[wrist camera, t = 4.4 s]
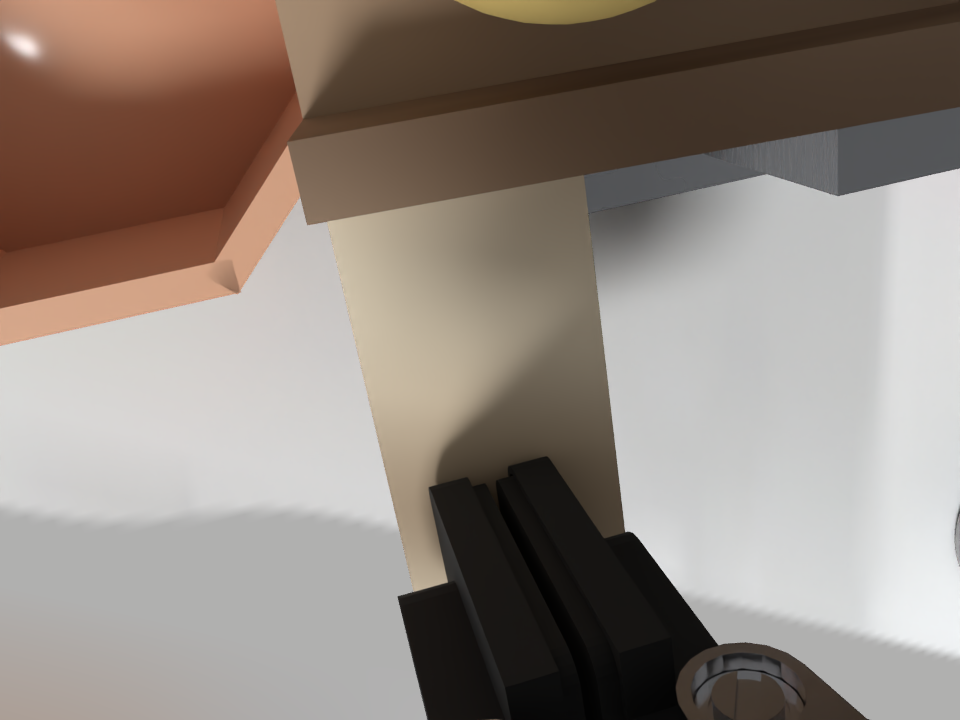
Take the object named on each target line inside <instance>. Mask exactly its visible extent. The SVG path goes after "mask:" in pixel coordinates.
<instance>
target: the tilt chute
mask: <svg viewBox="0 0 960 720" xmlns="http://www.w3.org/2000/svg"><path fill="white" fill-rule="evenodd" d="M275 2H276V6H277V10H278V15H279V19H280V23H281V28H282V32H283V36H284V40H285V45H286V49H287V53H288V57H289V62H290V66H291V70H292V74H293V79H294V83H295V87H296V92H297V96H298V100H299V104H300V109H301V113H302V117H303V120H302V121H301V123H300V124H299V126H298V127H297V129H296V130H295V131H294V133H293V134H292V136H291V137H290V138H289V140H288V141H287V144H288V148H289V152H290V156H291V161H292V165H293V169H294V173H295V177H296V181H297V185H298V189H299V193H300V198H301V202H302V206H303V210H304V214H305V218H306V222H307V225H311V224H317V223H322V222H327V224H328V228H329V232H330V237H331V241H332V245H333V249H334V254H335V258H336V262H337V266H338V271H339V275H340V279H341V284H342V288H343V292H344V296H345V301H346V305H347V309H348V313H349V318H350V322H351V326H352V330H353V335H354V339H355V343H356V348H357V352H358V356H359V360H360V365H361V369H362V373H363V377H364V382H365V386H366V390H367V394H368V399H369V403H370V407H371V412H372V416H373V420H374V424H375V429H376V433H377V437H378V441H379V446H380V450H381V454H382V458H383V463H384V467H385V471H386V476H387V480H388V484H389V488H390V493H391V497H392V501H393V505H394V510H395V514H396V518H397V523H398V527H399V531H400V535H401V540H402V544H403V548H404V552H405V557H406V561H407V565H408V569H409V573H410V578H411V582H412V587H413V590H414V592H415V591H419V590H422V589H426V588H430V587H433V586H437V585H440V584H444V583H447V582H448V581H447V576H446V572H445V567H444V562H443V558H442V553H441V548H440V543H439V539H438V534H437V529H436V525H435V520H434V515H433V511H432V506H431V501H430V496H429V490H428V487H430V486H434V485H438V484H442V483H446V482H449V481H453V480H457V479H461V478H465V477H468V479H469V480H470V482H471V485H472V486H476V485H480V484H483V483H485V484H486V485H487V487H488V489H489V491H490V493H491V495H492V497H493V499H494V501H495V503H496V505H497V507H498V509H499V511H500V507H499V501H498V496H497V489H496V480H499V479H502V478H506V477H508V466H510V465H514V464H518V463H522V462H526V461H529V460H533V459H537V458H541V457H545V456H548V458H549V459H550V460H551V461H552V463H553V464H554V466H555V467H556V469H557V470H558V472H559V473H560V475H561V476H562V478H563V479H564V480H565V482H566V483H567V485H568V486H569V488H570V489H571V491H572V492H573V494H574V495H575V497H576V498H577V500H578V501H579V502H580V504H581V505H582V507H583V508H584V510H585V511H586V513H587V514H588V516H589V517H590V519H591V520H592V522H593V523H594V524H595V526H596V527H597V529H598V530H599V532H600V533H601V535H602V536H603V538H607V537H611V536H614V535H618V534H622V533H625V528H624V519H623V510H622V502H621V493H620V484H619V476H618V467H617V458H616V450H615V441H614V432H613V424H612V415H611V406H610V398H609V389H608V380H607V371H606V363H605V354H604V345H603V337H602V328H601V319H600V311H599V302H598V293H597V285H596V276H595V267H594V259H593V250H592V241H591V233H590V224H589V215H588V207H587V198H586V189H585V180H584V175H587V174H593V173H598V172H604V171H609V170H615V169H620V168H626V167H631V166H637V165H642V164H648V163H654V162H659V161H665V160H670V159H676V158H681V157H687V156H692V155H698V154H703V153H709V152H714V151H720V150H725V149H731V148H736V147H742V146H747V145H753V144H758V143H764V142H769V141H775V140H781V139H786V138H792V137H797V136H803V135H808V134H814V133H819V132H825V131H830V130H836V129H841V128H847V127H852V126H858V125H863V124H869V123H874V122H880V121H885V120H891V119H896V118H902V117H908V116H913V115H919V114H924V113H930V112H935V111H941V110H946V109H952V108H957V107H960V0H656V1H655V2H652V3H650V4H647V5H645V6H642V7H640V8H637V9H635V10H632V11H629V12H626V13H623V14H620V15H617V16H614V17H611V18H606V19H601V20H596V21H590V22H583V23H575V24H534V23H523V22H518V21H513V20H509V19H504V18H500V17H496V16H492V15H488V14H485V13H482V12H480V11H477V10H475V9H473V8H470V7H468V6H466V5H464V4H461V3H459V2H457V1H455V0H275ZM500 513H501V512H500Z"/></svg>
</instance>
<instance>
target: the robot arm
mask: <svg viewBox="0 0 960 720" xmlns="http://www.w3.org/2000/svg"><path fill="white" fill-rule="evenodd" d="M496 489H497V496H498V501H499V507H500V511H499V509H498V507H497V505H496V503H495V501H494V499H493V497H492V495H491V493H490V491H489V489H488V487H487V485H486V484H485V483H483V484H480V485H476V486H472V485H471V482H470V480H469V479H468V477H465V478H461V479H457V480H453V481H449V482H446V483H442V484H438V485H434V486H430V487H428V490H429V496H430V501H431V506H432V511H433V515H434V520H435V525H436V529H437V534H438V539H439V543H440V548H441V553H442V558H443V562H444V567H445V572H446V576H447V581H448V582H447V583H444V584H440V585H437V586H433V587H430V588H426V589H422V590H419V591H415V592H412V593H408V594H405V595H401V596H398V600H399V605H400V609H401V613H402V617H403V621H404V625H405V629H406V633H407V638H408V642H409V646H410V650H411V654H412V658H413V662H414V667H415V671H416V675H417V679H418V683H419V687H420V691H421V695H422V699H423V703H424V708H425V711H426V716H427V720H869V719H866V718H865V717H864V716H863V715H862V714H861V713H860V712H858V711H857V710H856V709H855V708H854V707H853V706H851V705H850V704H849V703H848V702H847V701H846V700H845V699H844V698H842V697H841V696H840V695H839V694H838V693H837V692H836V691H834V690H833V689H832V688H831V687H830V686H829V685H828V684H826V683H825V682H824V681H823V680H822V679H821V678H819V677H818V676H817V675H816V674H815V673H814V672H813V671H812V670H810V669H809V668H808V667H807V666H806V665H805V664H803V663H802V662H800V661H799V660H797V659H796V658H794V657H793V656H791V655H790V654H788V653H786V652H783V651H780V650H778V649H775V648H772V647H770V646H767V645H760V644H753V643H746V642H745V643H730V644H722V645H719V646H718V644H717V643H716V642H715V640H714V639H713V638H712V636H711V635H710V634H709V632H708V631H707V630H706V628H705V627H704V626H703V624H702V623H701V622H700V620H699V619H698V618H697V616H696V615H695V614H694V612H693V611H692V610H691V608H690V607H689V606H688V604H687V603H686V602H685V600H684V599H683V598H682V596H681V595H680V594H679V592H678V591H677V590H676V588H675V587H674V586H673V584H672V583H671V582H670V580H669V579H668V578H667V576H666V575H665V574H664V572H663V571H662V570H661V568H660V567H659V566H658V564H657V563H656V562H655V560H654V559H653V558H652V556H651V555H650V554H649V552H648V551H647V550H646V548H645V547H644V546H643V544H642V543H641V542H640V540H639V539H638V538H637V537H636V536H635V535H634V534H633V533H631V532H625V533H622V534H618V535H614V536H611V537H607V538H603V536H602V535H601V533H600V532H599V530H598V529H597V527H596V526H595V524H594V523H593V522H592V520H591V519H590V517H589V516H588V514H587V513H586V511H585V510H584V508H583V507H582V505H581V504H580V502H579V501H578V500H577V498H576V497H575V495H574V494H573V492H572V491H571V489H570V488H569V486H568V485H567V483H566V482H565V480H564V479H563V478H562V476H561V475H560V473H559V472H558V470H557V469H556V467H555V466H554V464H553V463H552V461H551V460H550V459H549V458H548V456H545V457H541V458H537V459H533V460H529V461H526V462H522V463H518V464H514V465H510V466H508V477H506V478H502V479H499V480H496ZM500 512H501V513H500Z"/></svg>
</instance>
